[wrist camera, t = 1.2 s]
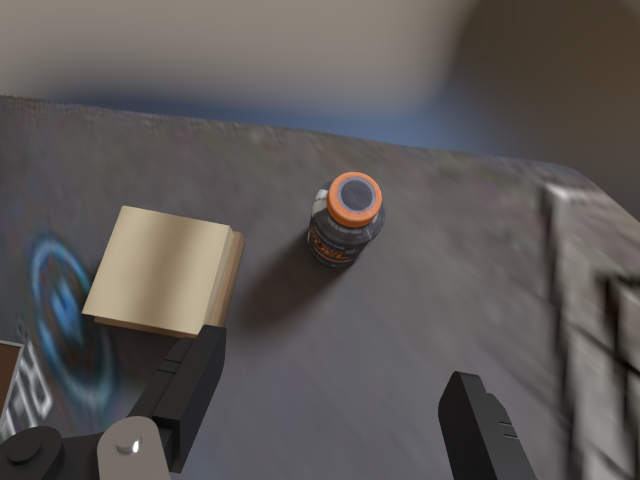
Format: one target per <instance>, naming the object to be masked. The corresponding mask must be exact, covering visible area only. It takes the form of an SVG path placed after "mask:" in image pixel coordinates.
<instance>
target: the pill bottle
mask: <svg viewBox="0 0 640 480" xmlns="http://www.w3.org/2000/svg"><path fill="white" fill-rule="evenodd" d="M384 219H385V207H384V203H383V200H382V196H381V191H380V189H379V187H378V185H377V183H376V182H375V181H374V180H373V179H372V178H370V177H369V176H367V175H365V174H362V173H358V172H349V173H345V174H342V175H340V176H339V177H337V178H336V179H335V180H332V181H330V182H328V183H327V184H326V185H324V186H323V187H322V188H321V189H320V191H319V192H318V194H317V195H316V198H315V200H314V204H313V209H312V215H311V220H310V226H309V232H308V246H309V249H310V251H311V253H312V255H313V256H314V257H315V258H316V259H317V260H318V261H319V262H320V263H322V264H324V265H326V266H328V267H333V268H340V267H341V268H342V267H346V266H349V265H351V264H353V263H354V262H356V261H357V260H358V259H359V258H360V256H361V255H362V254H363V252H364V251H365V250H366V249H367V247H368V246H369V245H370V243H371V242H372V241H373V240H374V238H375V237H376V236H377V234H378V233H379V232H380V230H381V228H382V226H383V223H384Z"/></svg>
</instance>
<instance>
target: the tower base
mask: <svg viewBox="0 0 640 480" xmlns="http://www.w3.org/2000/svg"><path fill="white" fill-rule="evenodd" d="M244 246H245V240H244V238H243V236H242V233H239V232H234V231H232V230H231V228H230V226H227V225H222V224H217V223H212V222H206V221H201V220H196V219H191V218H186V217H181V216H175V215H170V214H165V213H160V212H155V211H149V210H144V209H139V208H134V207H129V206H122V209H121V212H120V214H119V217H118V219H117V222H116V225H115V227H114V230H113V233H112V235H111V238H110V240H109V243H108V246H107V248H106V251H105V253H104V256H103V259H102V261H101V264H100V267H99V269H98V272H97V274H96V277H95V280H94V282H93V285H92V288H91V290H90V293H89V295H88V298H87V301H86V303H85V306H84V308H83V311H82V313H84V314H89V315H94V316H96V317H95V319H94V322H97V323H103V324H108V325H114V326H119V327H124V328H130V329H135V330H141V331H146V332H151V333H157V334H162V335H168V336H173V337H178V338H184V337H191V338H196V337H197V335H198V333H199V331H200V330H201V328H202V326H203V325H204V324H207V325H213V326H218V327H224V324H225V320H226V316H227V312H228V308H229V305H230V301H231V297H232V293H233V289H234V285H235V281H236V277H237V273H238V269H239V265H240V261H241V257H242V253H243V250H244Z"/></svg>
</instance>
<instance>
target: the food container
mask: <svg viewBox="0 0 640 480" xmlns="http://www.w3.org/2000/svg"><path fill="white" fill-rule="evenodd" d="M24 346H25V345H24V344H19V343H14V342H8V341H3V340H0V432H1V428H2V425H3V421H4V418H5V414H6V410H7V407H8V403H9V400H10V396H11V393H12V389H13V385H14V382H15V378H16V375H17V371H18V368H19V364H20V360H21V357H22V353H23V350H24Z"/></svg>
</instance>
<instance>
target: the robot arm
mask: <svg viewBox="0 0 640 480" xmlns="http://www.w3.org/2000/svg"><path fill="white" fill-rule="evenodd" d="M225 345H226V328H224V327H218V326H213V325H207V324H204V325H203V326H202V328H201V330H200V331H199V333H198V335H197V337H196V338H191V337H184V338H182V339H181V340H180V341H178V342H177V343H176V344H174V345H173V346H172V347H171V349H170V350H169V352H168V353H167V355H166V357H165V358H164V361H162V363H161V364H160V366H159V368H158V369H157V372H155V374H154V376H153V377H152V379H151V380H150V382H149V383H148V385H147V387H146V388H145V390H144V391H143V393H142V395H141V396H140V398H139V399H138V401H137V402H136V404H135V406H134V407H133V409H132V410H131V412H130V413H129V415H128V416H127V417H126V418H125V419H122V420H120V421H118V422H116V423H115V424H113V425H112V426H111V427H109V428H108V429H107V430H106V431H104V432H101V433H98V434H93V435H87V436H79V437H71V438H64V439H62V438H61V435H60V433H59V432H58V431H57V430H56V429H54V428H51V427H47V426H39V427H33V428H29V429H26V430H23V431H21V432H19V433H17V434H15V435H13V436H11V437H10V438H8V439H7V440H6V441H4V442H3V443H2V444H1V445H0V480H171V478H170V475H169V473H170V472H175V473H180V474H181V471H182V469H183V466H184V464H185V462H186V459H187V457H188V454H189V452H190V449H191V447H192V445H193V442H194V440H195V437H196V435H197V433H198V430H199V428H200V425H201V423H202V420H203V418H204V416H205V413H206V411H207V408H208V406H209V404H210V401H211V399H212V396H213V394H214V391H215V389H216V387H217V384H218V382H219V379H220V377H221V374H222V370H223V366H224V360H225ZM438 417H439V422H440V426H441V430H442V434H443V438H444V442H445V446H446V450H447V454H448V458H449V462H450V466H451V470H452V474H453V478H454V480H537V478H536V476H535V474H534V472H533V470H532V467H531V465H530V463H529V461H528V458H527V456H526V454H525V452H524V450H523V447H522V445H521V443H520V441H519V439H517V434H516V432H515V430H514V428H513V427H512V426H511V424H512V423H511V421H510V419H509V417H508V414H507V412H506V410H505V408H504V407H503V406H502V404H501V403H500V402H499V401H498V400H497V398H496V397H495V396H494V395H493V394H490V393H486V390H485V388H484V385H483V383H482V381H481V379H480V377H479V376H478V375H474V374H469V373H463V372H458V371H455V372H453V374H452V376H451V378H450V380H449V382H448V384H447V386H446V388H445V390H444V393H443V395H442V397H441V399H440V402H439V406H438Z"/></svg>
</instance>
